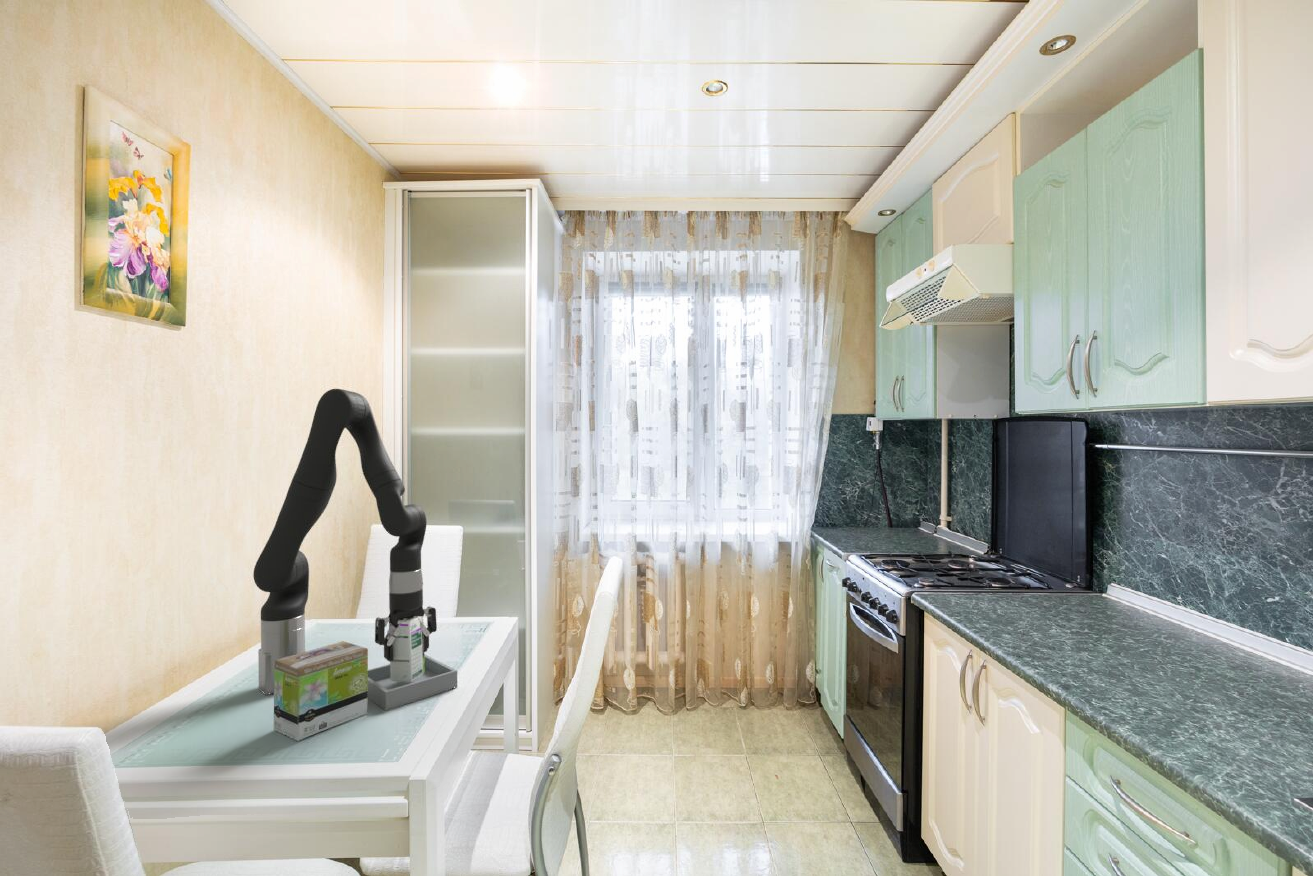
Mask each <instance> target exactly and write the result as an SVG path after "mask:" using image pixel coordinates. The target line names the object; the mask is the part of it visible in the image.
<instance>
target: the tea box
mask: <svg viewBox="0 0 1313 876" xmlns="http://www.w3.org/2000/svg"><path fill="white" fill-rule="evenodd" d="M368 663H369V650H368V648H367V647H363V646H360V645H357V644H354V643H351V642H347V641H343V640H342V641H338V642H336V643H332V644H328V645H325V646H321V647H318V648H314V649H311V650H307V651H306V650H305V652H303V653H299V654H296V655H292V656H288V657H285V658H281V659H277V660H275V675H274V693H273V730H274V731H276V732H278V733H280V732H281V733H284V734H285V735H287V736H286V737H288V736H289V737H288V738H290V737H292V738H294V739H295V740H294V739H293V740H294V741H296V740H297V742H300V741H302V740H304V739H305V738H308V737H310V736H311V737H312V736H314V735H315V734H318V733H320V732H322V731H325V730H327V729H331V728H333V727H336V726H338V725H341V724H344V723H347V722H350V721H352V720H354V719H358V718H361V717H363V716H366V715H367V713H368V697H367V696H368V670H369V668H368V666H369V664H368ZM281 733H280V734H281ZM284 734H283V735H284ZM285 735H284V736H285ZM292 738H291V739H292Z"/></svg>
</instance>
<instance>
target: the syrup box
mask: <svg viewBox="0 0 1313 876" xmlns="http://www.w3.org/2000/svg"><path fill="white" fill-rule="evenodd" d="M418 618H419V620H418ZM418 618H414V619H413V618H407V620H403V621H402V620H398V624H397V626H398V625H399V624H400V623H401V622H402V623H401V625H400V633H399V635H398V636H397V637H396V638H395V640H394V641H393V643H392V645H393V661H390V662H389V664H390V678H391V681H396V682H413V680H415V679H417V678H418V677H420V676H421V675H423V674H424V673H425V657H424V655H425V652H424V634H423V631H421V628H420V621H421V622H422V623H423V624H424V623H425V622H424V616H423V617H422V616H418ZM424 625H425V624H424ZM395 629H396V628H395V627H394V626H393V625H392V624H391V623H389V622H388V630H389V632H390V631H392V632H394V631H395ZM390 635H391V634H390ZM390 635H389V637H390Z"/></svg>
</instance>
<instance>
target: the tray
mask: <svg viewBox="0 0 1313 876" xmlns="http://www.w3.org/2000/svg"><path fill="white" fill-rule="evenodd" d="M424 657H425V673H424V674H423V675H421V676H420V677H418V678H417V679H415V680H413V682H396V681H391V678H390V663H389V664H384V665H382V666H378V667H373V668H370V669H369V668H368V696H367V699H368V700H369V699H370V700H371V701H373V702H374V703H375V704H376V705H378V706H379V707H380V708H382V709H384V710H385V711H388V710H391V709H395V708H397V707H398V708H399V707H401V706H403V705H404V706H405V705H407V704H410V703H413V702H417V701H420V700H422V699H427V698H428V697H433V696H435V695H438V694H441V693H445V692H447V691H450V690H449V689H451V690H453V689H452V688H454V687H457V688H458V670H456V669H454V668H452V667H450V666H449V665H447V664H445V663H443V662H440V661H439V660H436V659H434V658H432V657H431V656H429V655H427V654H424ZM454 689H455V688H454ZM444 691H445V692H444Z"/></svg>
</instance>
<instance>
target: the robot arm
mask: <svg viewBox="0 0 1313 876" xmlns="http://www.w3.org/2000/svg"><path fill="white" fill-rule="evenodd" d="M345 429H346V430H347V431H348V432H349V434H350V436H351V437H352V438H353V440H354V442H355V443H356V445H357V448H358V452H359V456H360V464H361V471H362V475H363V477H364V479H365V481H366V483H367V485H368V487H369V489H370V491H371V493H372V494H373V497H374V498H375V501H376V506H377V512H378V515H379V521H380V522H381V525H382V528H384V530H385V531H386V532H387V533H388V534H389V535H391V536H393V537H396V538H397V537H398V540H397V543H396V544H395V545H394V546H392V547H391V548H390V549H391V550H390V551H389V552H390V553H389V579H388V592H389V593H388V596H389V597H388V599H389V601H388V608H389V614H388V616H386V617H376V618H375V623H374V625H375V627H374V629H375V630H374V643H376V644H378V645H379V646H383V658H384V659H385V660H386V661H388V662H389V663H390V661H393V645H392V643H393V641H394V640H395V638H396V637H397V636H398V635H399V633H400V625H401V623H402V622H401V623H400V624H399V625H398V626H397V624H398V620H402V621H403V620H407V618H413V619H414V618H418V616H422V617H423V618H424V616H425V617H426V623H427V626H425V624H423V623H422V622H421V621H420V628H421V631H423V634H424V653H425V652H428V649H429V647H430V635H431V634H432V633H436V632H437V628H438V627H437V625H438V624H437V609H436V608H435V607H432V606H427V607H426V608H423V605H424V591H423V589H424V588H423V586H424V582H423V581H424V580H423V572H422V571H423V570H422V548H423V544H424V540H425V534H426V531H427V517H426V513H425V511H424V509H423V508H422V507H421V506H419V505H418V504H407V505H404V504H403V500H402V495H404V493H405V490H406V488H405V485H404V482H403V481H402V479H401V477H400V475H399V474H398V471H397V469H396V468H395V466H394V465H393V464H394V463H393V462H392V461H391V458H390V456H389V454H388V452H387V450H386V448H385V445H384V443H383V440H382V437H381V434H380V432H379V429H378V426H377V423H376V420H375V417H374V414H373V411H372V408H371V406H370V403H369V401H368V400H367V398H366V397H365V396H363V395H362V394H360V393H359V392H355V391H350V390H346V389H341V388H332V389H329V390H327V391H325V392H324V393H323V394H322V395H321V396H320V398H319V400H318V402H317V405H316V408H315V412H314V414H313V418H312V423H311V427H310V429H309V435H308V438H307V441H306V444H305V447H304V448H303V451H302V455H301V457H300V460H299V462H298V465H297V468H296V470H295V472H294V474H293V477H292V480H291V482H290V485H289V487H288V489H287V492H286V496H285V499H284V501H283V504H282V505H281V508H280V511H279V513H278V516H277V519H276V521H275V525H274V527H273V530H272V531H271V533H270V535H269V538H268V539H267V540H266V541H267V542H266V543H265V546H264V547H263V549H262V551H261V553H260V555H259V556H258V559H257V561H256V562H255V565H254V568H253V575H252V577H253V581H254V583H255V585H256V587H257V588H258V589H259V590H261V591H262V592H266V593H269V594H268V598H267V599H266V601H265V602H264V604H263V605H262V607H260V648H259V649H258V689H259V688H260V689H261V690H262V691H263V692H264V693H265V694H268V695H270V694H269V693H273V694H274V675H275V660H277V659H281V658H285V657H288V656H292V655H296V654H299V653H303V652H306V614H305V613H306V612H305V611H306V604H307V602H308V598H309V590H310V589H309V588H310V587H309V584H310V568H309V567H310V566H309V561H308V558H307V557H306V555H305V553H303V552H302V551H301V550H300V548H301V546H302V544H303V542H304V540H305V538H306V536H307V535H308V534H309V532H310V531H311V529H312V528H313V527H314V526H315V524H316V523H317V521H318V520H319V519H320V518H321V516H322V515H323V513H324V512H325V510H326V509H327V507H328V504H329V502H330V500H331V497H332V494H333V493H334V492H333V491H334V489H335V486H336V483H337V477H338V476H337V474H338V473H337V463H336V462H337V459H336V452H337V447H338V445H339V442H340V440H341V439H340V438H341V437H342V434H343V432H344V430H345ZM418 620H419V618H418ZM389 623H391V624H392V625H393V626H394V627H395V628H396V629H395V631H394V632H392V631H390V632H389V629H388V630H387V632H385V630H386V629H385V628H386V627H387V625H388V624H389ZM385 634H386V635H385ZM390 634H391V635H390ZM389 635H390V637H389ZM260 689H259V690H260ZM261 690H260V691H261ZM262 691H261V692H262ZM263 692H262V693H263ZM264 693H263V694H264ZM265 694H264V695H265Z"/></svg>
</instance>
